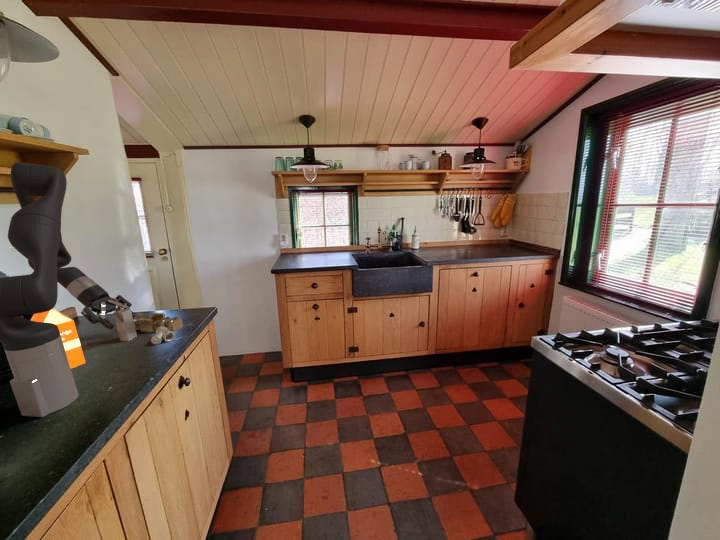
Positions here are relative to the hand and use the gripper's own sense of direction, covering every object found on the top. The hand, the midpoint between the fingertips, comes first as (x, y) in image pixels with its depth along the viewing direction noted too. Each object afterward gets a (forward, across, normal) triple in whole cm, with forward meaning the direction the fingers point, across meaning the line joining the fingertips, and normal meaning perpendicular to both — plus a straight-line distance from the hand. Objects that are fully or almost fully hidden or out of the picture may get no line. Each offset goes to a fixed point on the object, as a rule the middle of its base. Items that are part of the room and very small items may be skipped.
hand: (123, 322), depth 108 cm
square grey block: (+5, 0, +4) cm, 7 cm away
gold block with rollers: (+7, +9, +2) cm, 11 cm away
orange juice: (+1, -18, +8) cm, 20 cm away
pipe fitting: (+14, 0, -5) cm, 15 cm away
